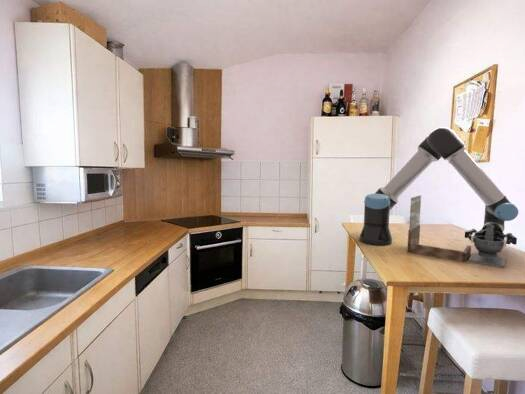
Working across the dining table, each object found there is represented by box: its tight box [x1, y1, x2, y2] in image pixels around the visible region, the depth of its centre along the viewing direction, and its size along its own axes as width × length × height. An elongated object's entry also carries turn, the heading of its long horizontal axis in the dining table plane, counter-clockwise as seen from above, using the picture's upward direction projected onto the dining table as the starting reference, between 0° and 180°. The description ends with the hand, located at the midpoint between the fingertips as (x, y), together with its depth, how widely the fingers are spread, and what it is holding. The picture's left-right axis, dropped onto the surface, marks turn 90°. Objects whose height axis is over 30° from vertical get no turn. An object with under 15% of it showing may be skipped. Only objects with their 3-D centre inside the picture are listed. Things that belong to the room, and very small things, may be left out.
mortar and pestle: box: [473, 224, 504, 258], centre depth 118 cm, size 11×9×12 cm
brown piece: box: [407, 195, 472, 263], centre depth 128 cm, size 21×15×24 cm
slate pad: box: [468, 252, 506, 269], centre depth 119 cm, size 11×13×1 cm
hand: (488, 241), depth 114 cm, fingers closed on mortar and pestle, 9 cm apart
